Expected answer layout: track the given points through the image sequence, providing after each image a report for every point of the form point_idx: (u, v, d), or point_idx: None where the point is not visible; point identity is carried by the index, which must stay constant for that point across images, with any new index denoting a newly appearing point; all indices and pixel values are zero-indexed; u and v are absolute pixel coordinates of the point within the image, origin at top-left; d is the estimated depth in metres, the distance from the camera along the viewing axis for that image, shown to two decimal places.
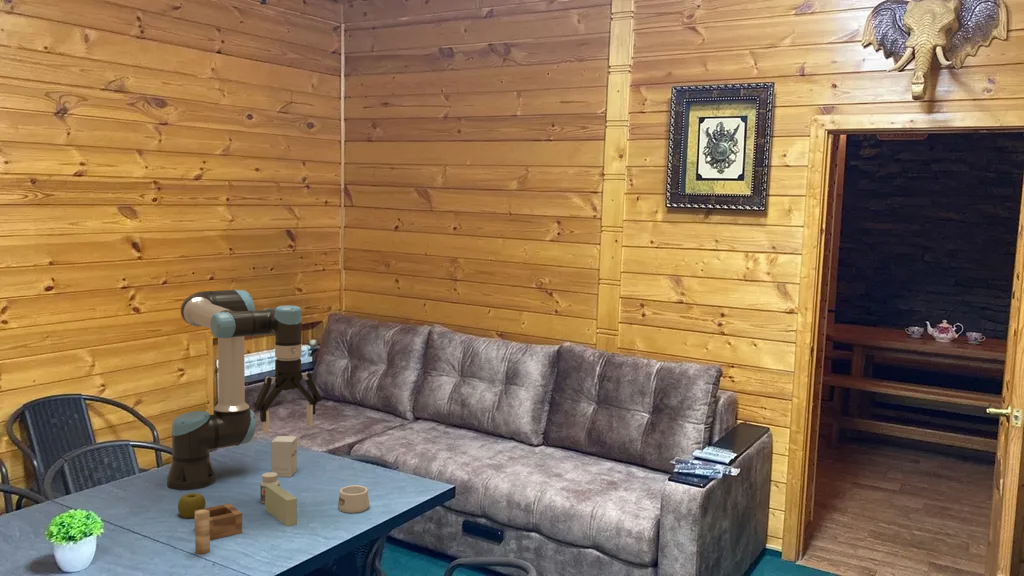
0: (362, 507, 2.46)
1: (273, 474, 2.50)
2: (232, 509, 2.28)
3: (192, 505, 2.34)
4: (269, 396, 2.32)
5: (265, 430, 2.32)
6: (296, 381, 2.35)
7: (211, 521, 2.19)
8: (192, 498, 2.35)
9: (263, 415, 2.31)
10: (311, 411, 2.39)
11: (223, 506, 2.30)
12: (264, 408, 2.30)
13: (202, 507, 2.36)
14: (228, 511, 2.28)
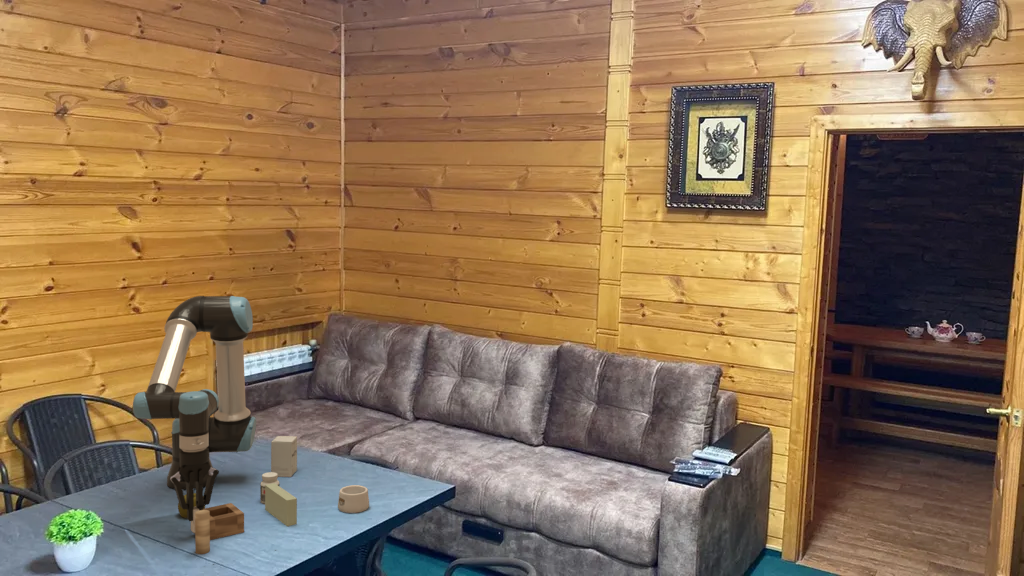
0: (362, 507, 2.46)
1: (273, 474, 2.50)
2: (233, 508, 2.28)
3: None
4: (187, 493, 2.20)
5: (192, 529, 2.21)
6: (201, 473, 2.20)
7: (213, 521, 2.20)
8: None
9: (190, 514, 2.20)
10: None
11: (225, 506, 2.30)
12: (190, 507, 2.19)
13: None
14: (230, 511, 2.28)
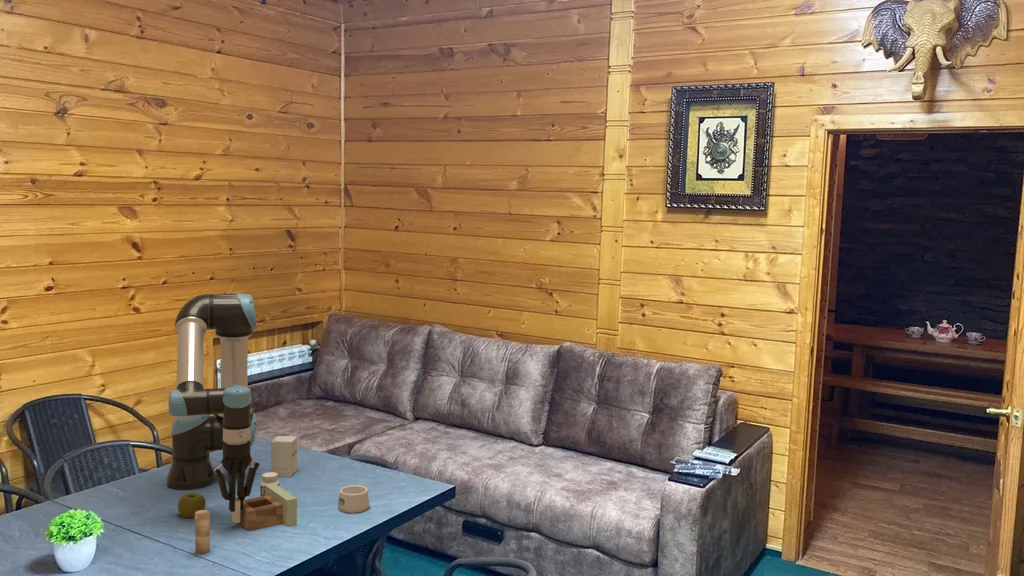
0: (362, 507, 2.46)
1: (273, 474, 2.50)
2: (272, 500, 2.36)
3: (192, 505, 2.34)
4: (229, 485, 2.27)
5: (234, 520, 2.28)
6: (243, 466, 2.27)
7: (254, 512, 2.27)
8: (192, 498, 2.35)
9: (232, 505, 2.27)
10: (238, 507, 2.28)
11: (263, 497, 2.38)
12: (232, 498, 2.27)
13: (202, 507, 2.36)
14: (268, 502, 2.36)
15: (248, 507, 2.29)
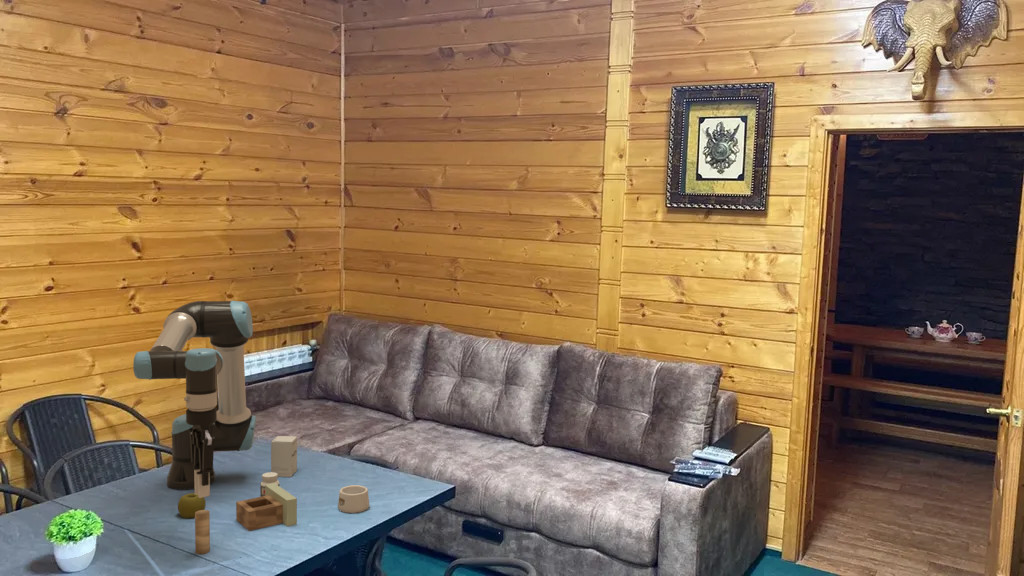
0: (362, 507, 2.46)
1: (273, 474, 2.50)
2: (272, 500, 2.36)
3: (192, 505, 2.34)
4: None
5: None
6: (195, 436, 2.07)
7: (254, 512, 2.27)
8: (192, 498, 2.35)
9: None
10: (198, 480, 2.09)
11: (263, 497, 2.38)
12: (193, 466, 2.12)
13: (202, 507, 2.36)
14: (268, 502, 2.36)
15: (248, 507, 2.29)
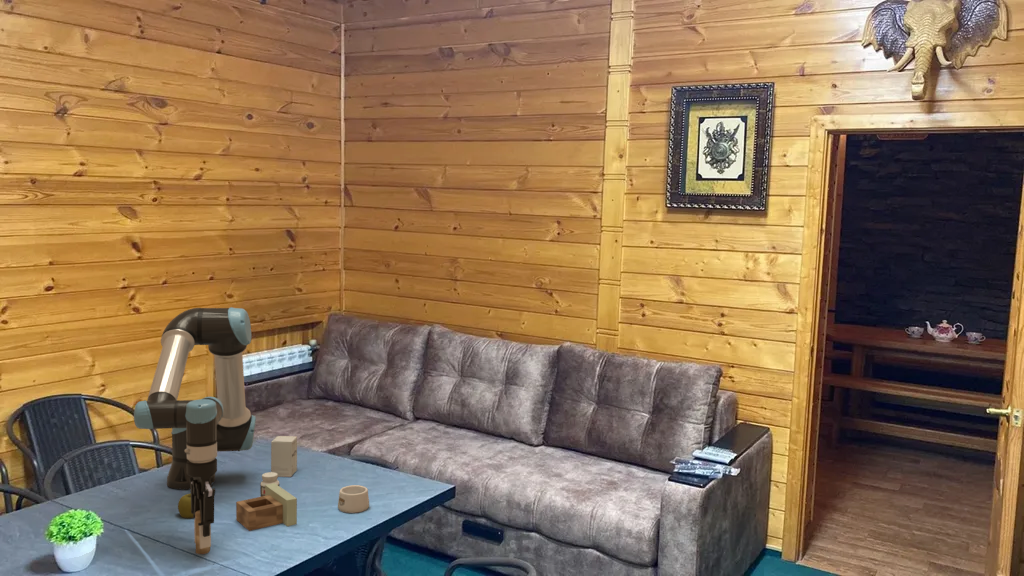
0: (362, 507, 2.46)
1: (273, 474, 2.50)
2: (272, 500, 2.36)
3: None
4: None
5: None
6: (196, 487, 2.08)
7: (254, 512, 2.27)
8: None
9: None
10: (199, 531, 2.10)
11: (263, 497, 2.38)
12: (193, 514, 2.13)
13: None
14: (268, 502, 2.36)
15: (248, 507, 2.29)
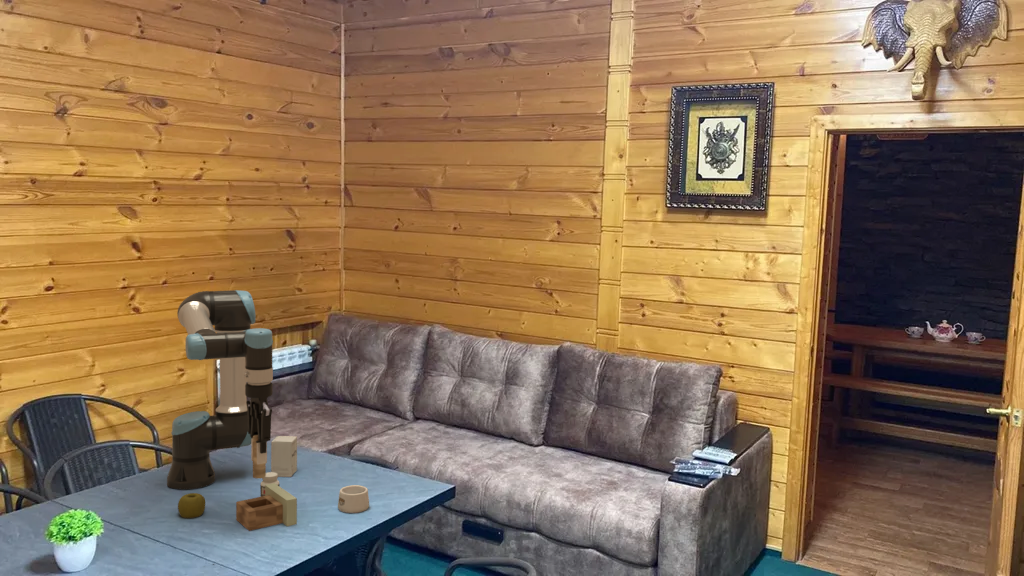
0: (362, 507, 2.46)
1: (273, 474, 2.50)
2: (272, 500, 2.36)
3: (192, 505, 2.34)
4: None
5: None
6: (254, 407, 2.28)
7: (254, 512, 2.27)
8: (192, 498, 2.35)
9: (252, 441, 2.33)
10: (257, 448, 2.29)
11: (263, 497, 2.38)
12: (250, 434, 2.33)
13: (202, 507, 2.36)
14: (268, 502, 2.36)
15: (248, 507, 2.29)
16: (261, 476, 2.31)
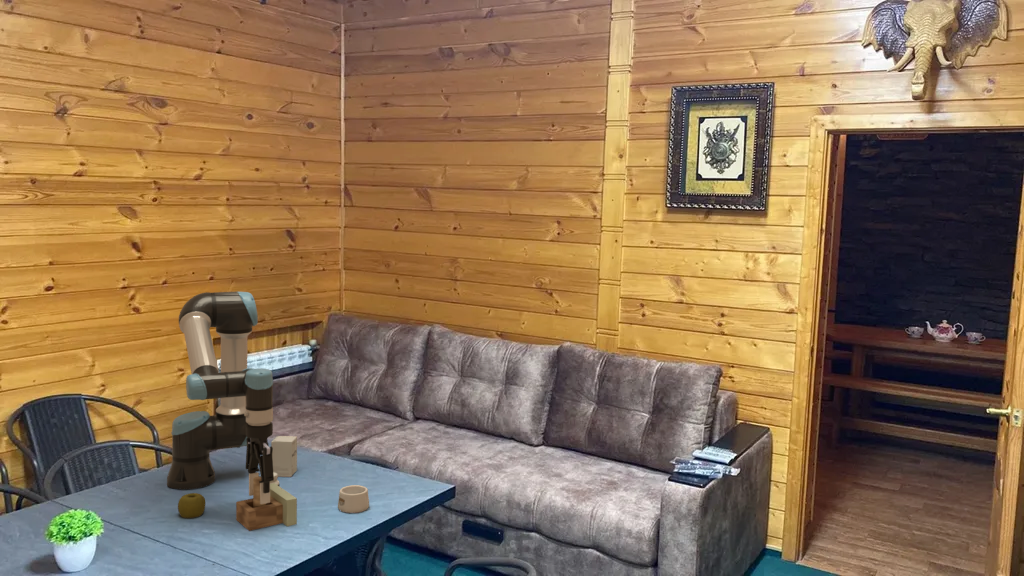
0: (362, 507, 2.46)
1: None
2: (272, 500, 2.36)
3: (192, 505, 2.34)
4: None
5: None
6: (254, 448, 2.29)
7: (254, 512, 2.27)
8: (192, 498, 2.35)
9: None
10: (260, 488, 2.29)
11: None
12: (248, 470, 2.36)
13: (202, 507, 2.36)
14: None
15: (248, 507, 2.29)
16: None
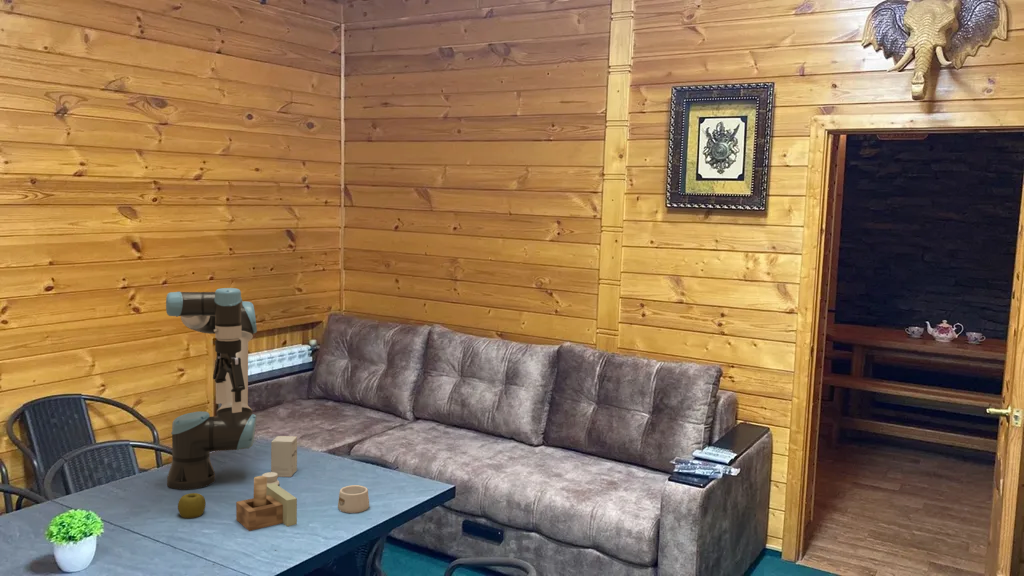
0: (362, 507, 2.46)
1: (273, 474, 2.50)
2: (272, 500, 2.36)
3: (192, 505, 2.34)
4: None
5: None
6: (224, 362, 2.40)
7: (254, 512, 2.27)
8: (192, 498, 2.35)
9: None
10: (232, 397, 2.38)
11: None
12: (215, 379, 2.49)
13: (202, 507, 2.36)
14: (268, 502, 2.36)
15: (248, 507, 2.29)
16: None
